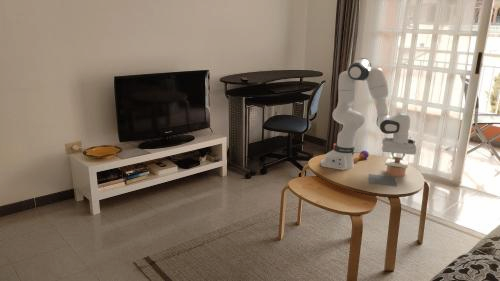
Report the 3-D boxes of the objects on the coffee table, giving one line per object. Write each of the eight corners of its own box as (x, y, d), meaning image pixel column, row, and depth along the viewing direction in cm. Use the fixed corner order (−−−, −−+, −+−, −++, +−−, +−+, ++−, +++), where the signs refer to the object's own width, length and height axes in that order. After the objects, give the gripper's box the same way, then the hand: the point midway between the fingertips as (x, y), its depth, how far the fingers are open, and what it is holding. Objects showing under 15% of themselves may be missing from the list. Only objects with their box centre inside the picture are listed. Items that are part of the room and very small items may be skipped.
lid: (385, 164, 242) (385, 158, 241) (387, 160, 254) (388, 153, 253) (407, 168, 237) (408, 161, 236) (408, 163, 248) (409, 156, 247)
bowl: (387, 175, 244) (388, 166, 242) (386, 169, 254) (387, 161, 252) (405, 177, 241) (406, 168, 240) (403, 171, 251) (404, 163, 250)
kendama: (348, 157, 265) (361, 149, 279) (349, 165, 266) (362, 157, 280) (355, 158, 261) (369, 149, 275) (356, 166, 262) (370, 157, 276)
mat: (368, 183, 231) (368, 183, 231) (368, 174, 245) (368, 173, 245) (397, 187, 227) (397, 186, 227) (394, 177, 241) (394, 176, 241)
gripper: (383, 138, 241) (380, 159, 245) (418, 141, 236) (414, 162, 239) (382, 136, 247) (380, 156, 250) (416, 138, 241) (413, 159, 245)
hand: (397, 159), depth 245 cm, fingers closed on lid, 3 cm apart
